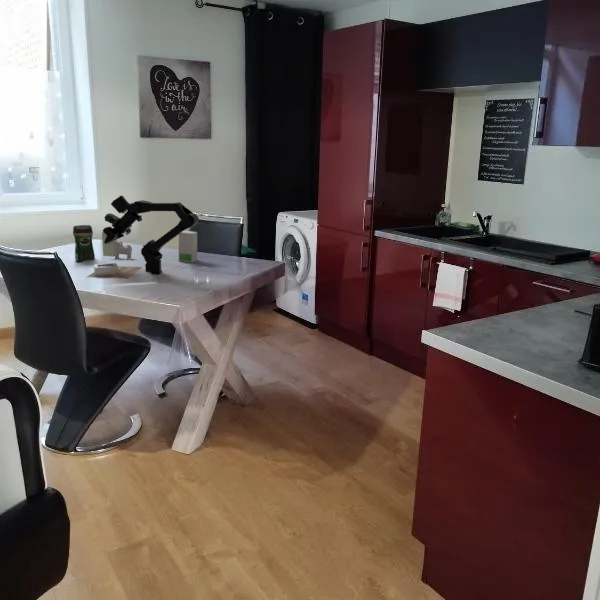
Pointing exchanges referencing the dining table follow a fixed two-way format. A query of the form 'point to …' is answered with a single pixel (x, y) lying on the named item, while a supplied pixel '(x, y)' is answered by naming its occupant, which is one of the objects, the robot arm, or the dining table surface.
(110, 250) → the keyed peg
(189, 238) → the skincare box
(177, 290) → the dining table surface
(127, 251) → the dog figurine
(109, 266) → the keyed slot
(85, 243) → the coffee jar
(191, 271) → the dining table surface
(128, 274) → the walnut board
